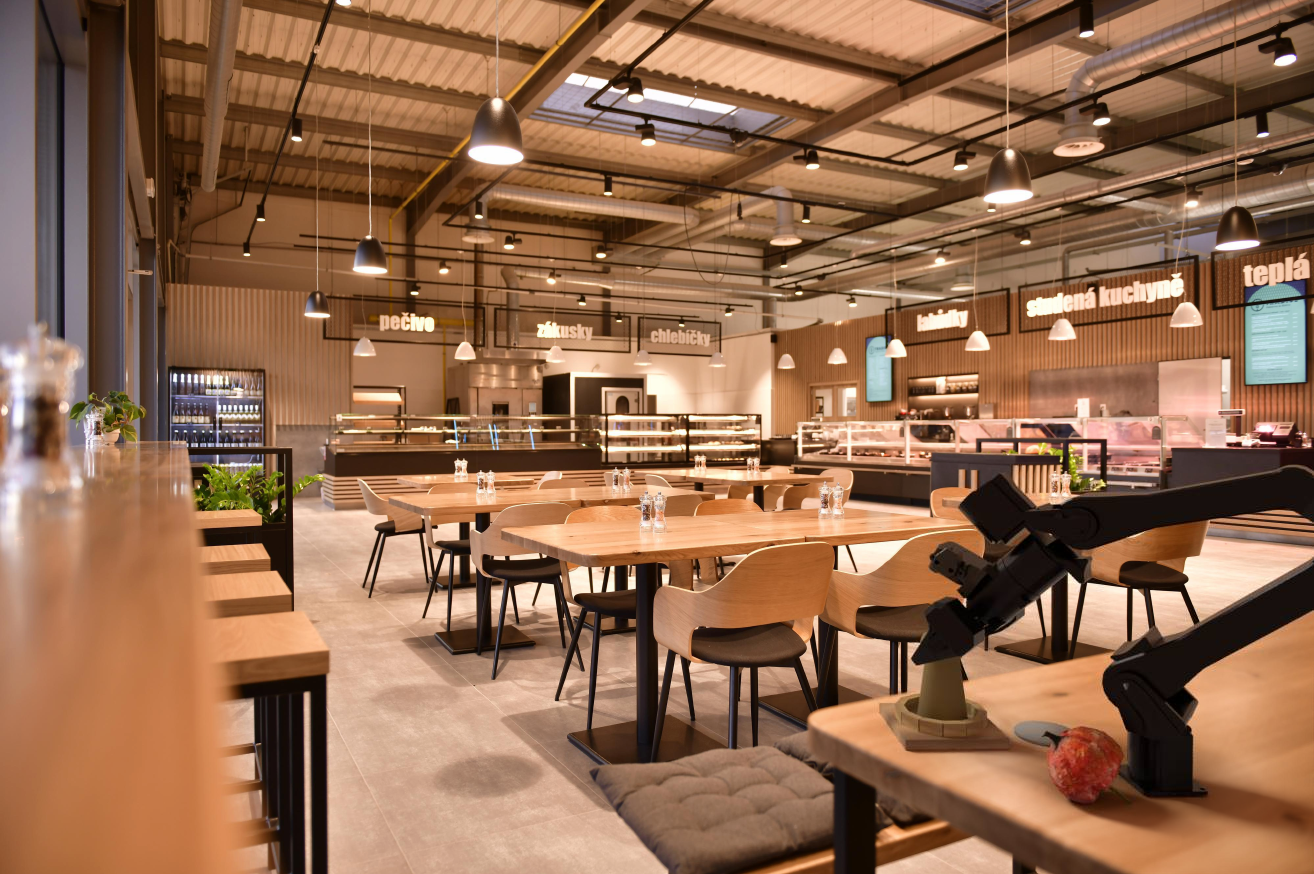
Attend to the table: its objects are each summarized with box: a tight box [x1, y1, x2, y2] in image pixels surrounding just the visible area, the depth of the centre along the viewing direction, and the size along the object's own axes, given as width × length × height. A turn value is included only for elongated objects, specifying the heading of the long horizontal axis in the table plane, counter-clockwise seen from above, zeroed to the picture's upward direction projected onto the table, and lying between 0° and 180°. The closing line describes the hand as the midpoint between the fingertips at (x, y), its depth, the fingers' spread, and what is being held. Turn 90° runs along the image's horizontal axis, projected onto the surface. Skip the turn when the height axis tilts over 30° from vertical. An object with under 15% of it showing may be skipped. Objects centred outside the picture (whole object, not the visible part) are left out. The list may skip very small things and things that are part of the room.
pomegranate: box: [1042, 725, 1133, 805], centre depth 85 cm, size 7×7×10 cm
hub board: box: [878, 692, 1010, 751], centre depth 103 cm, size 12×12×3 cm
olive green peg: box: [917, 630, 968, 721], centre depth 103 cm, size 6×6×11 cm
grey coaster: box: [1013, 720, 1071, 747], centre depth 101 cm, size 7×7×1 cm
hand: (929, 653), depth 104 cm, fingers open, 9 cm apart
